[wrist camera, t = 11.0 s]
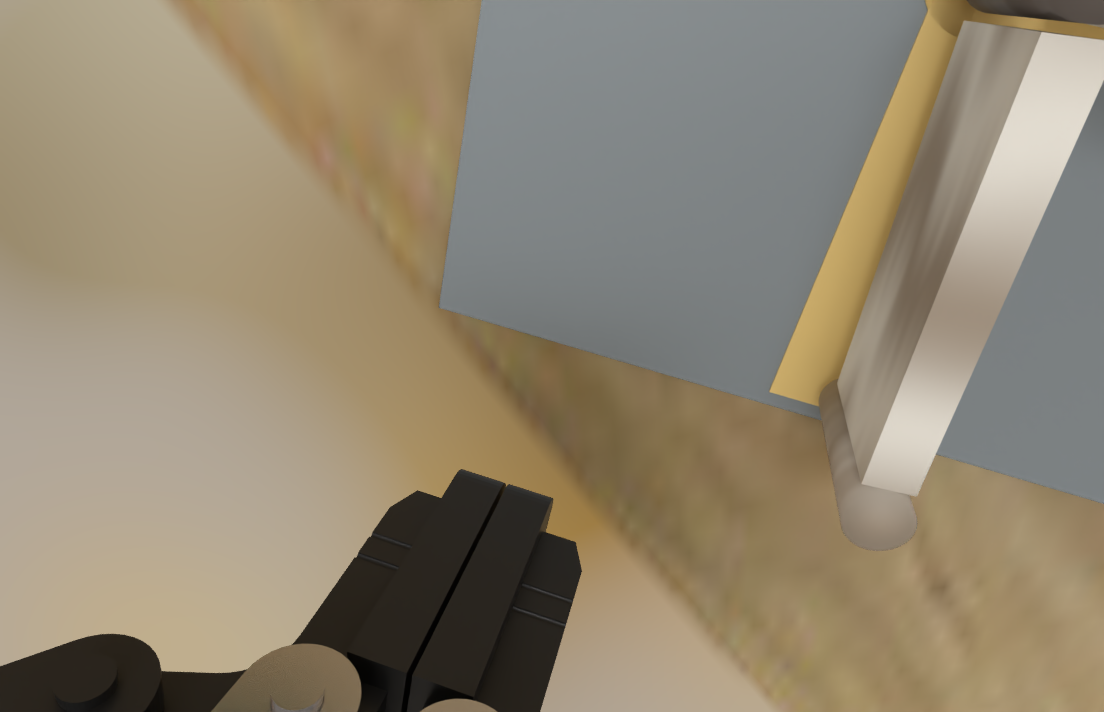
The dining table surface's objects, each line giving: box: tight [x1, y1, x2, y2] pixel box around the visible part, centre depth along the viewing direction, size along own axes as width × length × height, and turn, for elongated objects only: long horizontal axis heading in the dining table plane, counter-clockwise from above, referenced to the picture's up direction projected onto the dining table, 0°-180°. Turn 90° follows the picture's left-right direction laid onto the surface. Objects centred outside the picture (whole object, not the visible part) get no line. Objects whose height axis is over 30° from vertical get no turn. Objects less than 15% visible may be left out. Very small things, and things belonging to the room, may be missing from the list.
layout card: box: [439, 0, 1104, 504], centre depth 19 cm, size 25×18×1 cm
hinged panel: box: [819, 0, 1104, 551], centre depth 16 cm, size 13×2×6 cm, turn 173°
